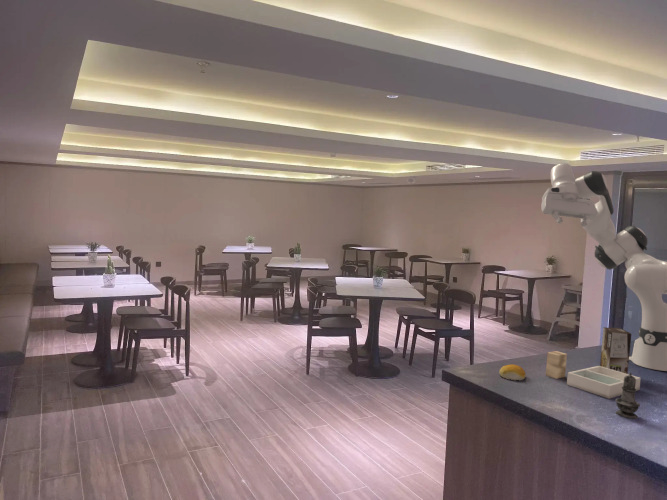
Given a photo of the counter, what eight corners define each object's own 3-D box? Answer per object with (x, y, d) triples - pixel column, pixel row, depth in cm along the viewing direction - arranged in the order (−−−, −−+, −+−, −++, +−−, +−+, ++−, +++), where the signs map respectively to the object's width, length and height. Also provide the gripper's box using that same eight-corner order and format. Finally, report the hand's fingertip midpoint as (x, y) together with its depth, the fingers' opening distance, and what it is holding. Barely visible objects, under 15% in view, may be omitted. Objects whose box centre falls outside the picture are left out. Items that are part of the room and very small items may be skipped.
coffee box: (627, 379, 167) (632, 333, 166) (607, 377, 169) (611, 331, 168) (618, 371, 176) (622, 328, 175) (598, 369, 178) (602, 326, 176)
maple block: (554, 373, 170) (556, 351, 170) (564, 376, 167) (566, 354, 167) (545, 375, 168) (547, 352, 167) (556, 378, 164) (558, 355, 164)
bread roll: (525, 375, 167) (526, 364, 167) (524, 382, 159) (525, 370, 159) (500, 371, 170) (501, 359, 170) (497, 378, 162) (498, 366, 162)
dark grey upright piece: (644, 418, 133) (648, 375, 133) (628, 420, 131) (632, 376, 131) (624, 409, 139) (628, 368, 138) (609, 411, 137) (613, 369, 136)
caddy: (597, 377, 169) (598, 365, 168) (639, 389, 157) (640, 377, 157) (566, 384, 159) (567, 372, 158) (608, 398, 147) (610, 385, 147)
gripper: (588, 204, 193) (595, 232, 185) (537, 198, 193) (542, 225, 185) (597, 194, 188) (604, 222, 180) (544, 187, 188) (549, 215, 180)
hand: (572, 224), depth 183 cm, fingers open, 8 cm apart
